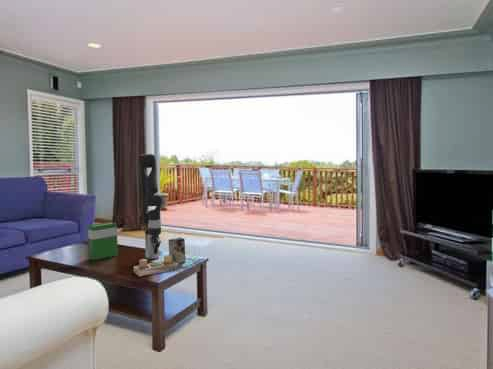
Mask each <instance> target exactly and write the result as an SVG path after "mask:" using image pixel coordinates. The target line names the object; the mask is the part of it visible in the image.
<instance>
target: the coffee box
mask: <svg viewBox="0 0 493 369" xmlns="http://www.w3.org/2000/svg"><path fill="white" fill-rule="evenodd" d="M185 240H186V239H185V238H182V237H177V238H170V239H168V255H171V260H173V261H174V262H176V263H179V264H182V263H181V262H184V263H186V246H185V243H186V242H185Z"/></svg>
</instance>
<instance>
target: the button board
mask: <svg viewBox="0 0 493 369" xmlns="http://www.w3.org/2000/svg"><path fill="white" fill-rule="evenodd" d="M171 262H172V263H171V264H164V260H162V261H160V266H155V267H152V262H150V263H147V268H145V269H140V266H139V265H134V266H132V268H133V270H132V271H133V273H134V274H136V275H137V277H143V276H149V275H154V274H159V273H164V272H169V271H175V270H178V269H179V264H178V263H176V262H174V261H173V260H171Z"/></svg>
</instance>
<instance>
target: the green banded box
mask: <svg viewBox="0 0 493 369" xmlns="http://www.w3.org/2000/svg"><path fill="white" fill-rule="evenodd" d="M117 225H118V224H117V222H113V221H108V222H102V223H96V224H89V225H87V234H88V253H89V254H88V255H89V259H90V258H91V259H93V260H92V261H94V260H96V259H100V260H103V259H102V258H105V259H107V257H109V258H113V257H112V256H114V257H116V256H117V257H118V255H119V253H118V252H119V250H118V249H119V248H118V244H119V243H118V226H117ZM91 259H90V260H91ZM96 261H97V260H96Z"/></svg>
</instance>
